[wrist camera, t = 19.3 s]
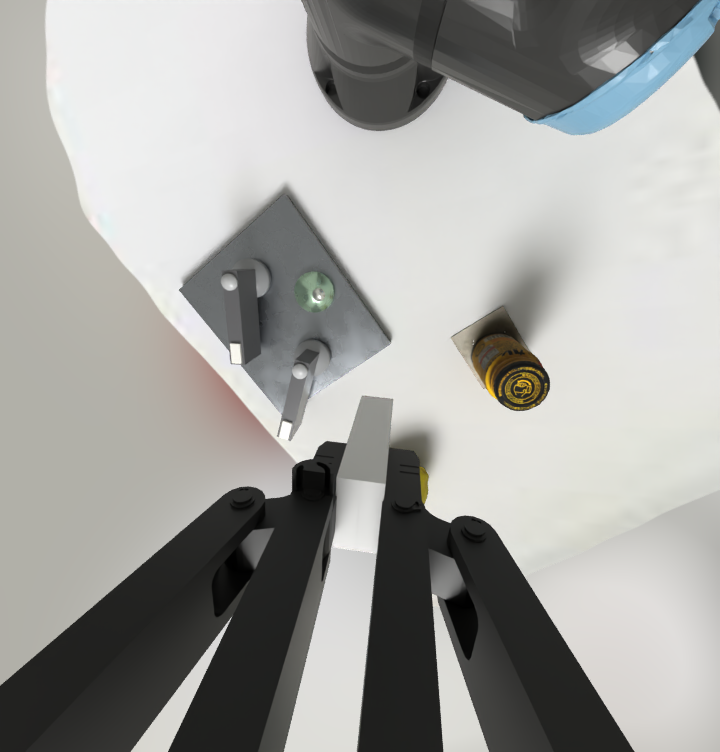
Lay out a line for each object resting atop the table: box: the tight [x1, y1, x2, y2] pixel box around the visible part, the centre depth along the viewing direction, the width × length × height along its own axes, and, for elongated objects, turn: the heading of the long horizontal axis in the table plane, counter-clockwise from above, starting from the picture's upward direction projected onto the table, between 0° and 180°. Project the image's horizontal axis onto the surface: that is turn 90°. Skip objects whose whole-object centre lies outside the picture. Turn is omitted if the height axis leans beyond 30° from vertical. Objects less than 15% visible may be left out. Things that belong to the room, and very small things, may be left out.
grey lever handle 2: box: [277, 339, 331, 441], centre depth 45 cm, size 12×5×6 cm, turn 164°
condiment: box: [451, 307, 550, 411], centre depth 40 cm, size 7×8×12 cm
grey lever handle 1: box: [221, 259, 271, 365], centre depth 43 cm, size 12×5×6 cm, turn 178°
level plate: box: [179, 194, 391, 415], centre depth 46 cm, size 22×19×2 cm
